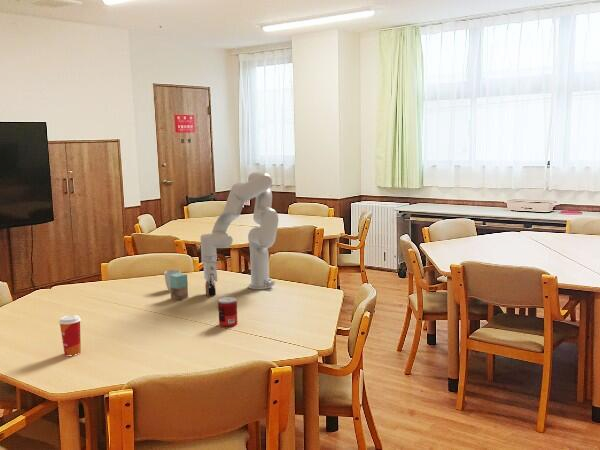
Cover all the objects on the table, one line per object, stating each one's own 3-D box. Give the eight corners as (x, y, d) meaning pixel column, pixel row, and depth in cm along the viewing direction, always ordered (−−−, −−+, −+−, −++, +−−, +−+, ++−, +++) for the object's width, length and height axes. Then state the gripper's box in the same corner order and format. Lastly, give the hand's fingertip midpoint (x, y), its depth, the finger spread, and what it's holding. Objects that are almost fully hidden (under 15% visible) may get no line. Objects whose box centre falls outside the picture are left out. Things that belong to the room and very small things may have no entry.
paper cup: (65, 350, 230) (62, 314, 228) (85, 349, 230) (83, 313, 228) (58, 358, 222) (55, 321, 220) (80, 356, 223) (77, 320, 221)
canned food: (240, 322, 259) (239, 297, 257) (232, 328, 252) (231, 302, 250) (224, 321, 262) (223, 296, 260) (216, 326, 254) (214, 301, 252)
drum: (217, 294, 306) (217, 282, 305) (211, 296, 301) (211, 285, 301) (210, 293, 308) (209, 281, 307) (203, 295, 304) (203, 284, 303)
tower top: (187, 286, 299) (187, 274, 298) (177, 288, 295) (176, 276, 294) (180, 284, 303) (180, 272, 302) (170, 287, 299) (169, 275, 298)
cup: (177, 292, 311) (176, 273, 310) (162, 292, 313) (161, 273, 311) (183, 288, 319) (182, 270, 318) (169, 288, 321) (168, 269, 319)
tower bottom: (188, 297, 301) (187, 285, 300) (181, 300, 296) (181, 288, 295) (177, 296, 303) (176, 284, 303) (171, 299, 298) (170, 287, 297)
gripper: (220, 261, 296) (222, 297, 298) (212, 254, 311) (214, 289, 314) (205, 262, 293) (207, 299, 296) (198, 256, 309) (199, 290, 311)
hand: (210, 293), depth 305 cm, fingers open, 5 cm apart
